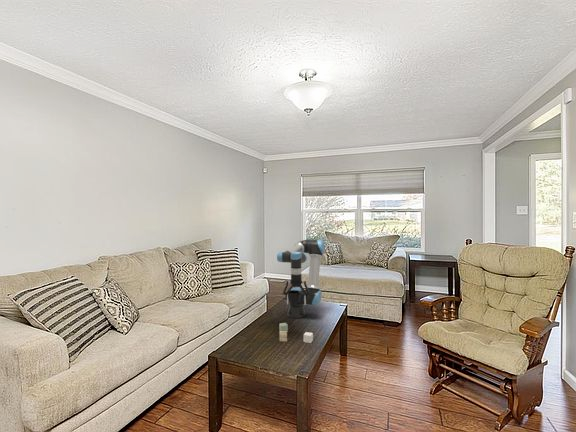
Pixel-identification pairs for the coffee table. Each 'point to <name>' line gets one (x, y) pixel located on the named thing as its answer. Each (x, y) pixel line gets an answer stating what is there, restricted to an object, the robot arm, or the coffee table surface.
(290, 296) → the mug
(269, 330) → the coffee table surface
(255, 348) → the coffee table surface
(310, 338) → the cream cube
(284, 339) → the maple cube
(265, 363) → the coffee table surface
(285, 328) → the sage cube
